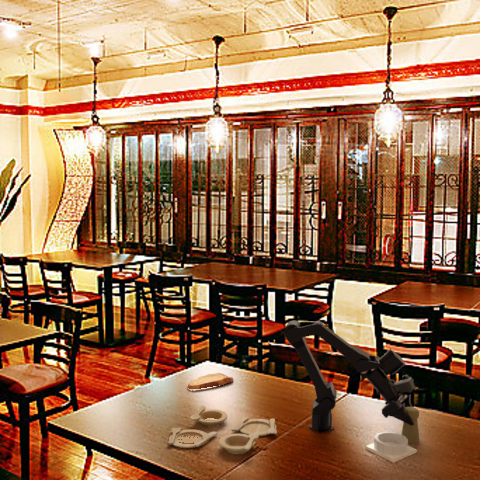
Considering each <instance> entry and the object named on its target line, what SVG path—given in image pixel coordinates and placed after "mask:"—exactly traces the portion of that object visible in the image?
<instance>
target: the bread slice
mask: <svg viewBox="0 0 480 480" xmlns="http://www.w3.org/2000/svg"><path fill="white" fill-rule="evenodd" d="M232 381H233V382H234V377H232V376H228V375H227V374H224V373H221V372H215V373H210V374H209V373H208V374H205V375H202V376H199V377H198V378H196V379H193V380H191V381H190V382H189V383H188V384H187V389H188V388H189V389H201V388H207V387H213V386H219V385H223V386H225V385H224V384H226V385H228V384H227V383H229V384H231V383H232ZM230 382H231V383H230ZM219 387H220V386H219Z"/></svg>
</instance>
